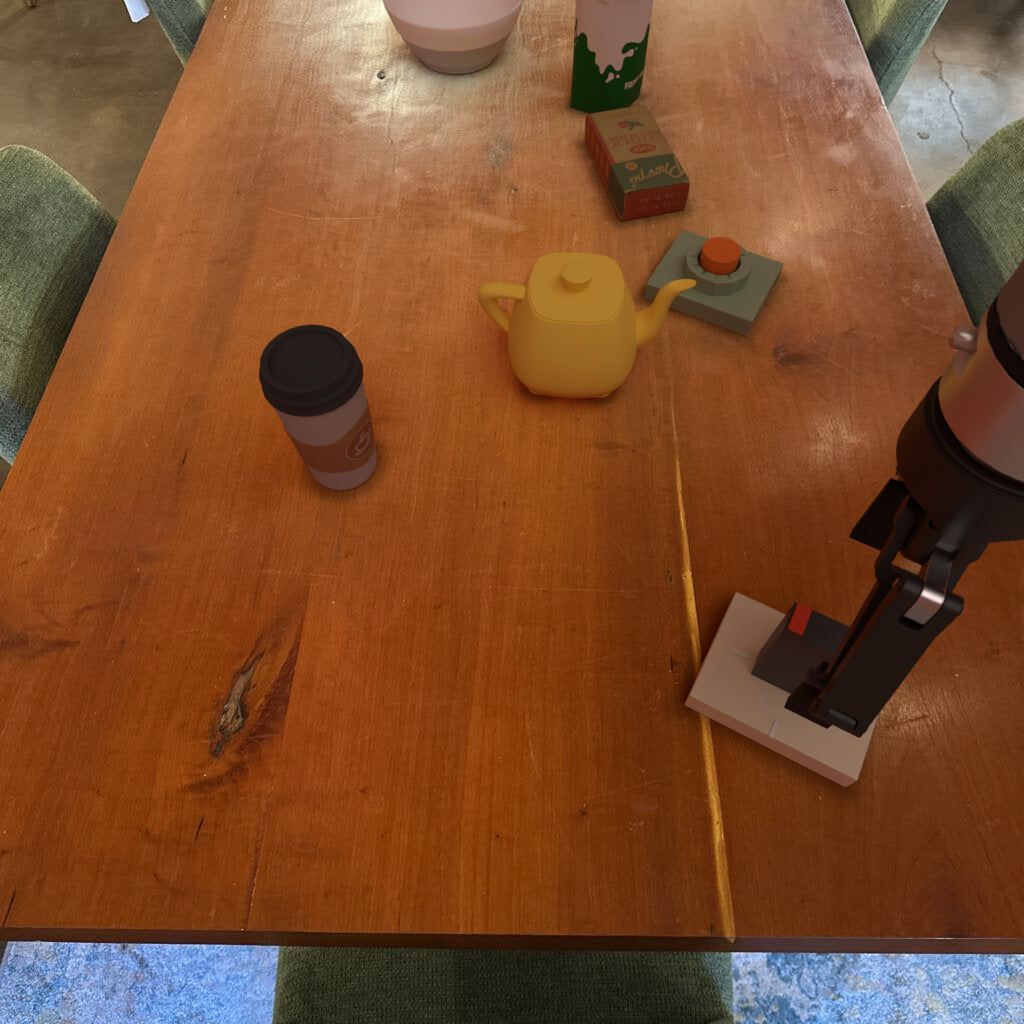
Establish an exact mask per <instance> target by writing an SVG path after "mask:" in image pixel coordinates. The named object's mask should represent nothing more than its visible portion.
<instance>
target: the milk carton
mask: <svg viewBox="0 0 1024 1024" xmlns="http://www.w3.org/2000/svg"><path fill="white" fill-rule="evenodd" d="M653 4H654V0H575V9H574V10H575V11H574V30H573V31H574V33H573V35H574V36H573V51H572V52H573V55H572V56H573V57H572V72H571V73H572V74H571V89H570V105H569V108H572V109H575V110H578V111H580V112H581V111H582V112H584V113H587V114H592V113H598V112H604V111H609V110H615V109H621V108H628V107H632V105H633V104H634V103H635V101H637V99H638V98H639V97H640V94H641V89H642V85H643V78H644V73H645V68H646V60H647V51H648V44H649V35H650V29H651V28H650V27H651V20H652V12H653Z"/></svg>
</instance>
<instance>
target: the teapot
mask: <svg viewBox="0 0 1024 1024" xmlns="http://www.w3.org/2000/svg"><path fill="white" fill-rule="evenodd" d="M621 269H622V268H621V267H620V266H619V264H618V263H617V261H616V260H614V259H613V258H611V257H609V256H606V255H603V254H597V253H588V252H571V251H569V252H552V253H548V254H545V255H543V256H541V257H540V258H539V259H538V260H536V262H535V264H534V265H533V266H532V268H531V270H530V271H529V273H528V275H527V277H526V278H525V280H524V282H523V284H518V283H511V282H504V281H490V282H489V281H488V282H486V283H483V284H481V286H480V287H479V288H478V290H477V299H478V303H479V305H480V306H481V309H482V310H483V311H484V313H485V314H486V315H487V316H488V317H489V318H490V319H491V320H492V321H493V322H494V323H495V324H496V325H497V326H498V327H499V328H500V329H501V330H503V331H504V333H505V334H507V351H508V358H509V361H510V364H511V368H512V370H513V371H514V374H515V376H516V377H517V379H518V380H519V382H520V383H522V384H523V385H524V386H525V387H526V388H528V391H529V392H531V393H532V394H534V395H538V396H542V395H545V396H547V397H548V396H550V397H555V398H568V399H591V398H596V399H597V398H598V399H603V398H606V397H608V396H609V395H610V394H611V393H613V391H615V390H617V389H618V388H620V387H621V386H622V385H623V383H625V381H626V380H627V378H628V377H629V375H630V373H631V371H632V368H633V367H634V364H635V360H636V358H637V353H638V349H641V348H642V347H643V348H644V347H645V346H647V345H649V344H650V343H651V342H653V341H654V340H655V338H657V336H658V335H659V334H660V332H661V331H662V329H663V326H664V324H665V321H666V318H667V315H668V312H669V309H670V308H669V307H670V305H671V303H672V301H673V300H674V299H675V297H677V296H678V295H679V294H680V293H682V292H684V291H686V290H688V289H690V288H692V287H694V286H695V285H696V283H697V282H696V281H695V280H692V279H680V280H675V281H672V282H669V283H667V284H666V285H665V286H663V287H662V288H661V289H660V290H659V292H658V293H657V295H656V297H655V300H654V302H652V303H651V305H650V306H648V307H647V308H645V309H642V310H640V311H636V305H635V302H634V299H633V296H632V293H631V290H630V287H629V285H628V283H627V280H626V278H625V275H624V273H623V272H622V270H621ZM498 299H510V300H515V301H514V304H513V307H512V310H511V314H510V318H509V316H508V315H507V314H506V313H505V311H504V310H503V308H502V307H501V305H500V304H499V301H498Z"/></svg>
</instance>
